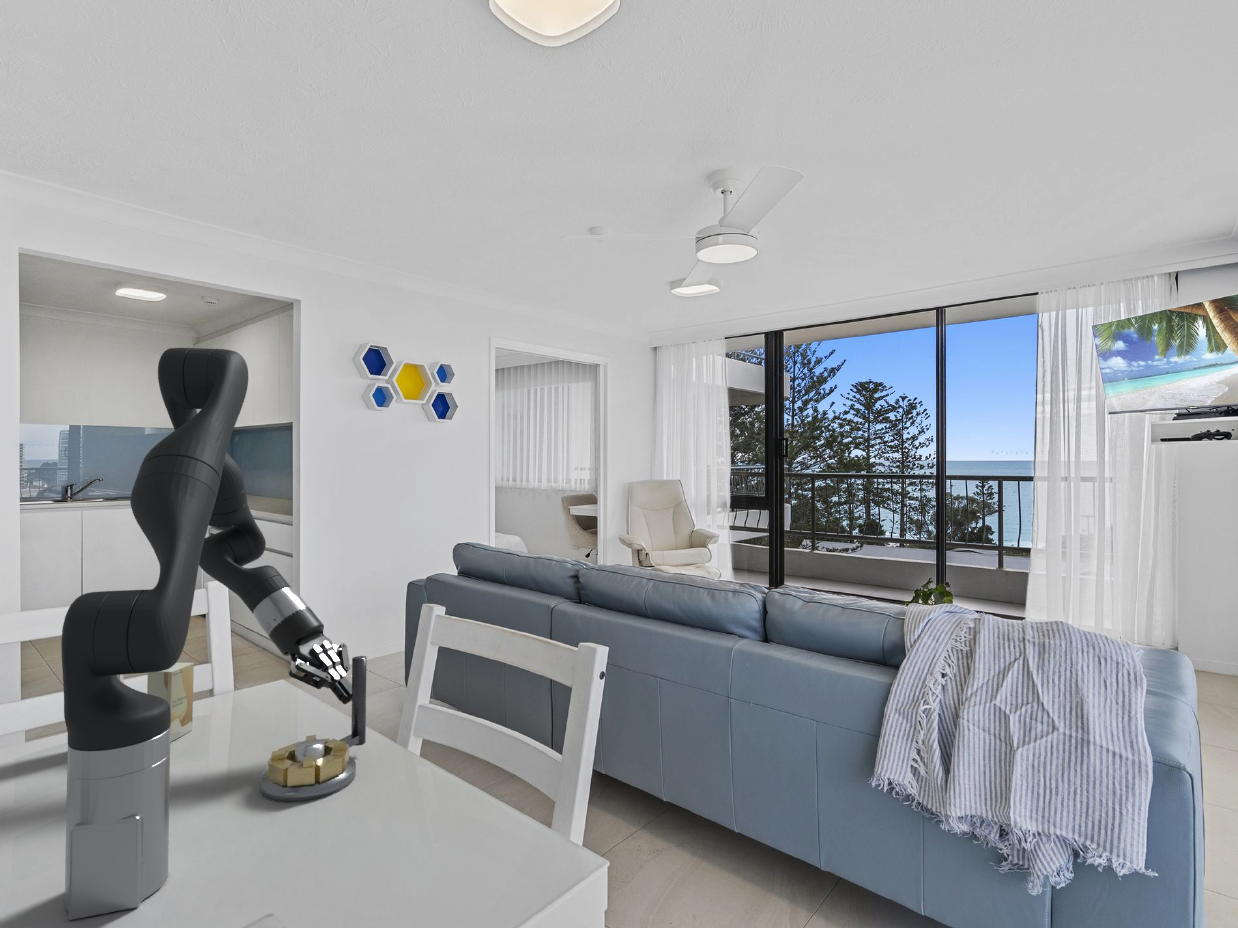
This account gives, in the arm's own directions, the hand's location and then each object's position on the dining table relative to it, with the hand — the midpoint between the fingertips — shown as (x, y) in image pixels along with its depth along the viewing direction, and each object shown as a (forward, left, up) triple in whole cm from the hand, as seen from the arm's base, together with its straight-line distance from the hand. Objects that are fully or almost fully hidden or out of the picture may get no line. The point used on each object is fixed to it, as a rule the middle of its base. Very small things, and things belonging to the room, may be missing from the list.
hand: (351, 699), depth 110 cm
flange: (-9, +6, -9) cm, 14 cm away
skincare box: (+18, +30, -9) cm, 36 cm away
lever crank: (-7, +3, -7) cm, 10 cm away
